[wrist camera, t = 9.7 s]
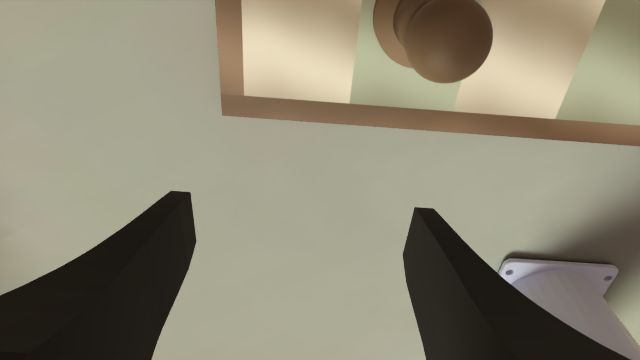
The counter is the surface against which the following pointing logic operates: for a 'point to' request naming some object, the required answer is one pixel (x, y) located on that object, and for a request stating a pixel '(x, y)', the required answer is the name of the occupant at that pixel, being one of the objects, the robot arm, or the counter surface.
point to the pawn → (434, 36)
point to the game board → (429, 97)
